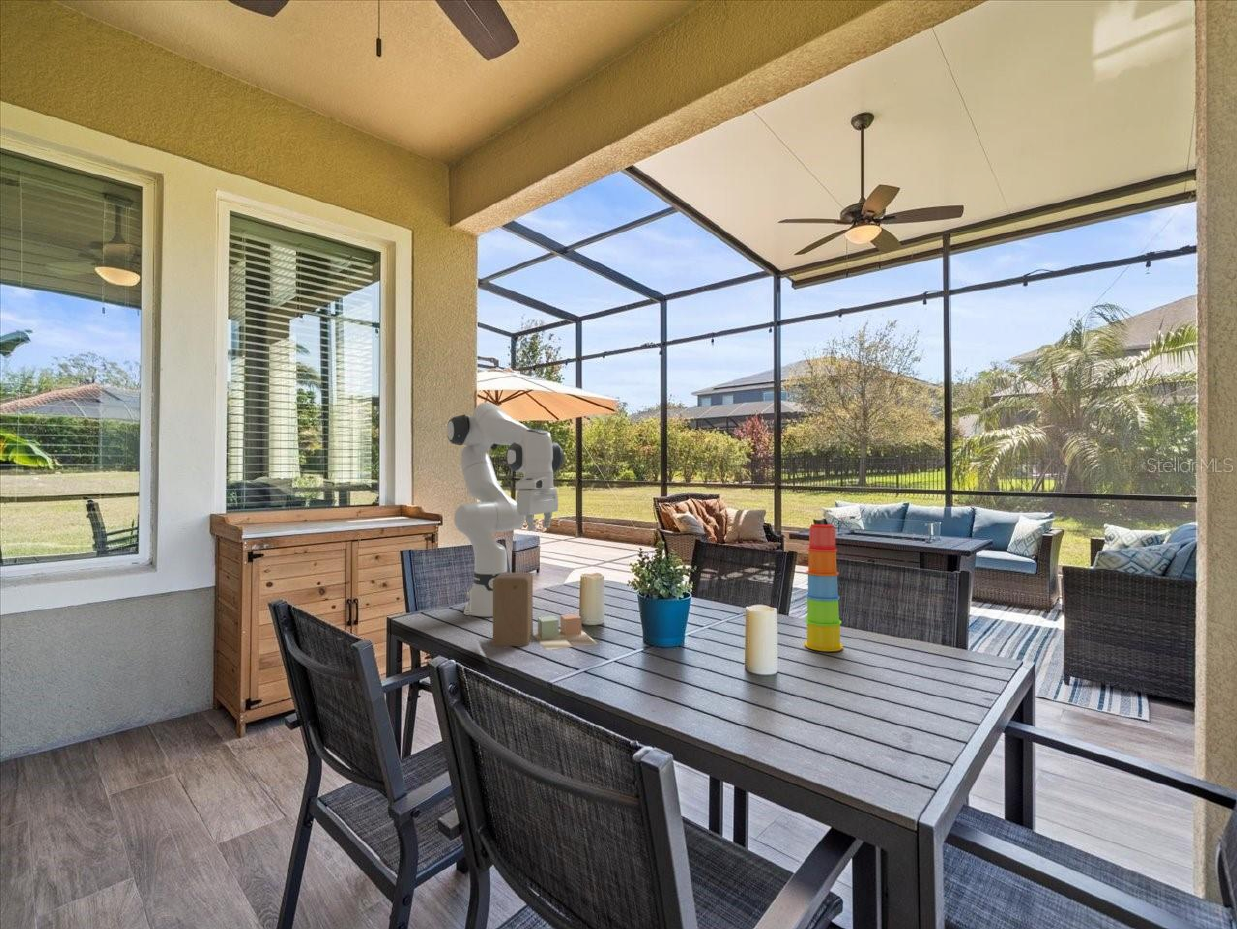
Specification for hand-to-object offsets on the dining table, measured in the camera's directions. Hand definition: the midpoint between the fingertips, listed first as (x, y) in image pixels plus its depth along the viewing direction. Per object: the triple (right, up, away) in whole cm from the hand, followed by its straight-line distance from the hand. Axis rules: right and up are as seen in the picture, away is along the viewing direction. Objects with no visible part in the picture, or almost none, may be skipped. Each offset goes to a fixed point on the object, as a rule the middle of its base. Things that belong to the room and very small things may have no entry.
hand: (539, 528), depth 176 cm
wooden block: (-7, -33, -7) cm, 34 cm away
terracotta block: (+9, -31, 0) cm, 33 cm away
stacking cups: (+82, -33, -11) cm, 89 cm away
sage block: (+3, -31, -3) cm, 32 cm away
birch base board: (+8, -33, -6) cm, 34 cm away
